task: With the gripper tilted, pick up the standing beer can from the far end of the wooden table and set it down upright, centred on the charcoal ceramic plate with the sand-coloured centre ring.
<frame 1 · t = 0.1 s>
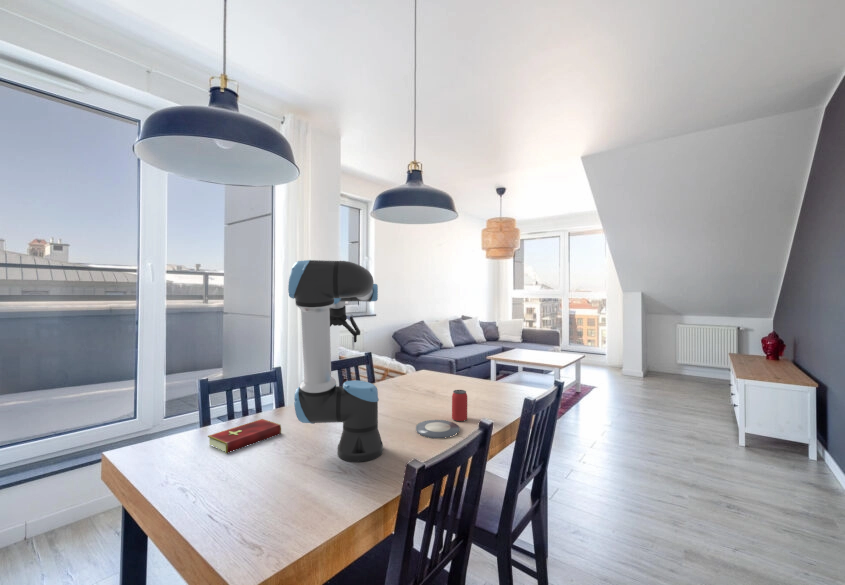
hand: (338, 348, 172), 28 cm above the table, tool tilted 20°, fingers open, 13 cm apart
plate: (437, 430, 145), on the table
hardcover book: (245, 441, 135), on the table
beer can: (459, 419, 158), on the table
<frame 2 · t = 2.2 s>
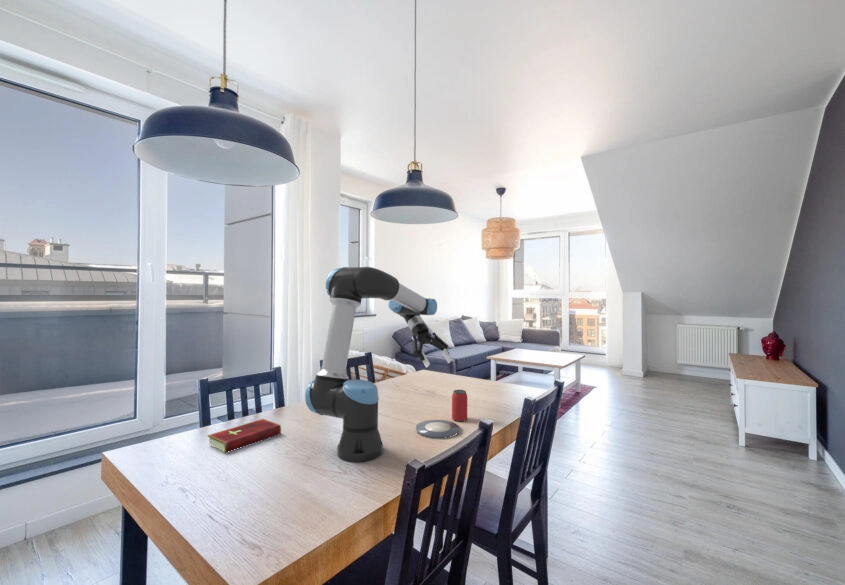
hand: (439, 363, 167), 22 cm above the table, tool tilted 45°, fingers open, 13 cm apart
nothing on the table moved.
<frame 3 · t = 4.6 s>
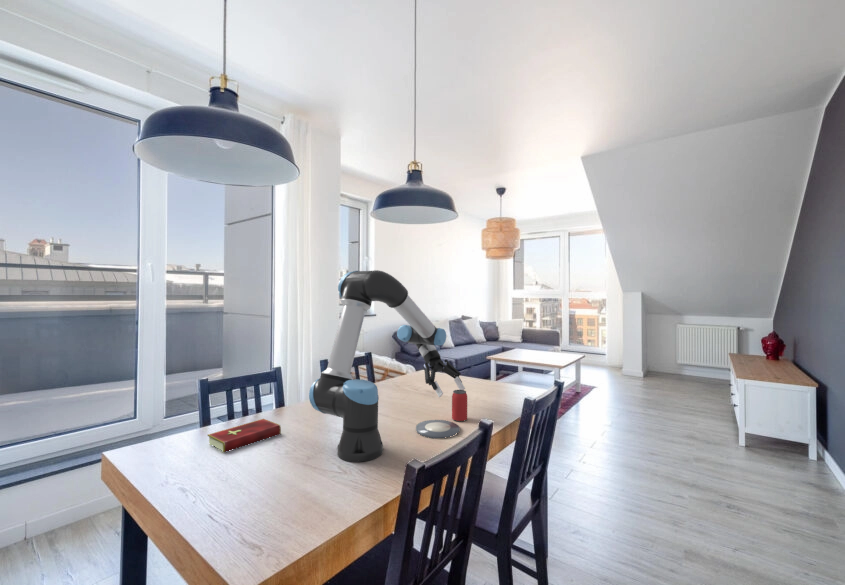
hand: (452, 392, 163), 10 cm above the table, tool tilted 45°, fingers open, 13 cm apart
nothing on the table moved.
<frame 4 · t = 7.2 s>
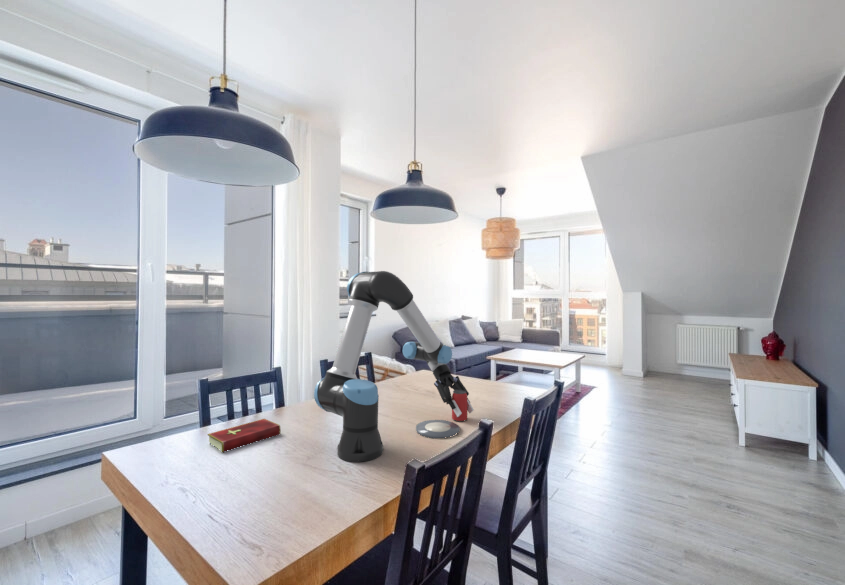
hand: (465, 413, 155), 3 cm above the table, tool tilted 45°, fingers closed on beer can, 7 cm apart
beer can: (459, 419, 158), on the table, touching gripper
everything else where it was.
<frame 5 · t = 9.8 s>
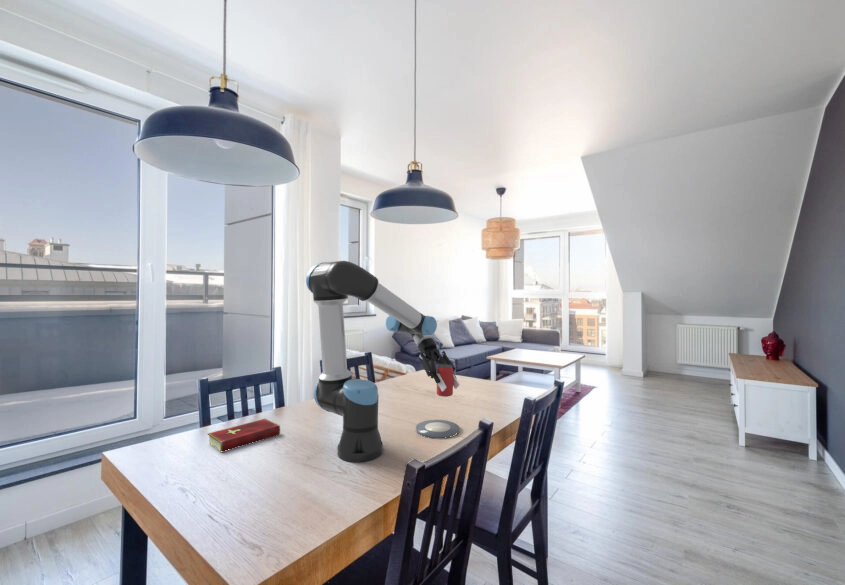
hand: (451, 388, 146), 16 cm above the table, tool tilted 45°, fingers closed on beer can, 7 cm apart
beer can: (444, 395, 149), point 13 cm above the table, touching gripper
when the fingers open (6 cm above the table, at t = 12.4 s): beer can drops 2 cm, resting on plate.
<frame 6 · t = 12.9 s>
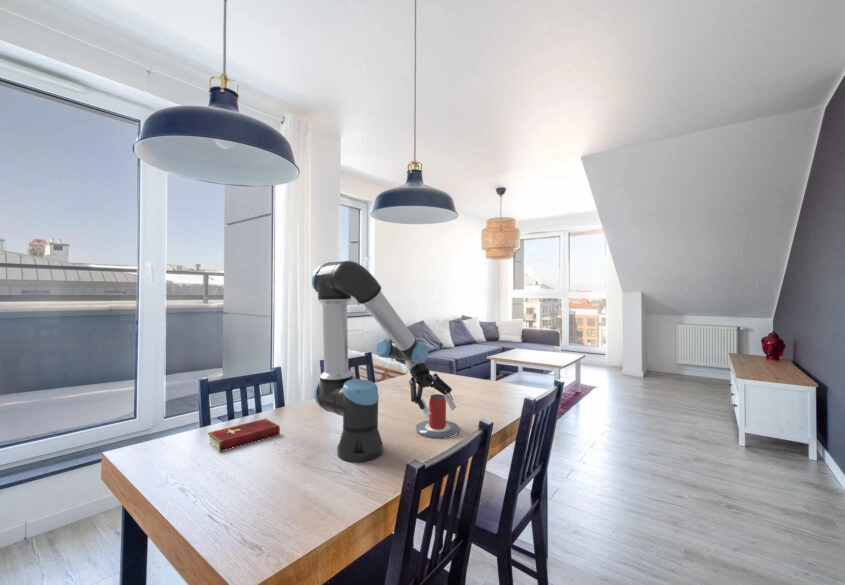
hand: (441, 412, 143), 8 cm above the table, tool tilted 45°, fingers open, 13 cm apart
beer can: (437, 427, 145), point 1 cm above the table, touching plate
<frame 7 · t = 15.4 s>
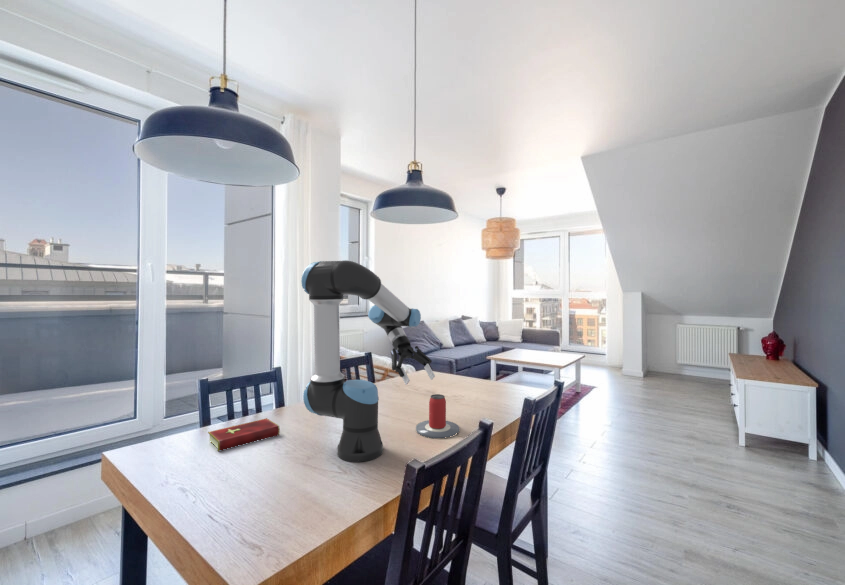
hand: (420, 380, 153), 18 cm above the table, tool tilted 45°, fingers open, 13 cm apart
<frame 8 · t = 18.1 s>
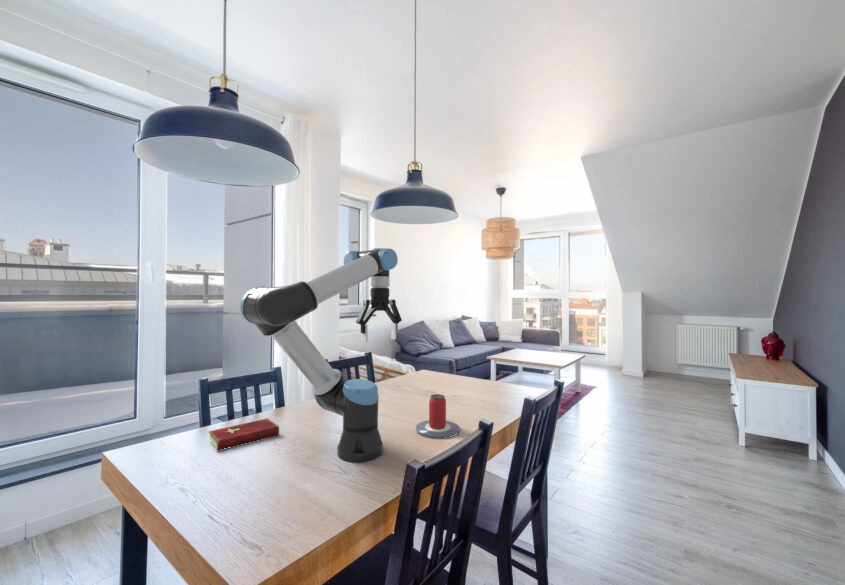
hand: (379, 340, 148), 35 cm above the table, tool pointing down, fingers open, 13 cm apart
at the end: beer can inside the target area on the plate (0.1 cm from its centre), point 1.2 cm above the plate's base; beer can tilted 0°; the gripper is holding nothing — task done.
